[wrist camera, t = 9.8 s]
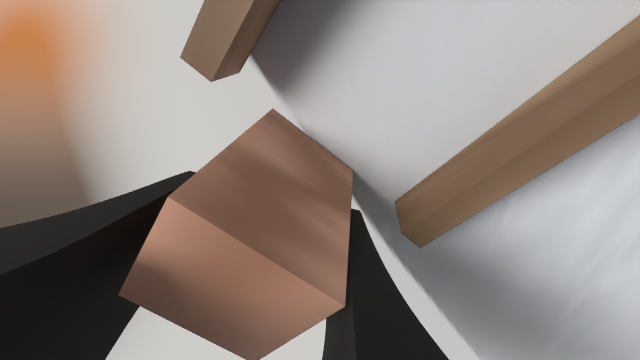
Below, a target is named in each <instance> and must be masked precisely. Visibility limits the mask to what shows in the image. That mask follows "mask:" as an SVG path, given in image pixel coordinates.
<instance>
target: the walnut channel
mask: <svg viewBox="0 0 640 360" xmlns="http://www.w3.org/2000/svg"><path fill="white" fill-rule="evenodd" d="M280 1H281V0H204V3H203V5H202V8H201V10H200V12H199V14H198V17H197V19H196V21H195V24H194V26H193V28H192V31H191V33H190V35H189V38H188V40H187V42H186V45H185V47H184V49H183V52H182V54H181V56H180V58H181V59H183V60H184V61H185V62H186V63H188V64H189V65H190V66H191V67H193V68H194V69H195V70H197V71H198V72H199V73H200V74H202V75H203V76H204V77H206V78H207V79H208V80H209V81H211V82H212V81H215V80H219V79H222V78H225V77H228V76H230V75H234V74H237V73H239V72H240V71H241V69H242V67H243V65H244V64H245V62H246V60H247V58H248V57H249V55H250V53H251V52H252V50H253V48H254V46H255V45H256V43H257V41H258V39H259V38H260V36H261V34H262V33H263V31H264V29H265V27H266V26H267V24H268V22H269V20H270V19H271V17H272V15H273V14H274V12H275V10H276V8H277V7H278V5H279V3H280ZM639 114H640V15H639V16H638V17H637V18H635V19H634V20H633V21H631V22H630V23H629V24H628V25H626V26H625V27H624V28H622V29H621V30H620V31H618V32H617V33H616V34H614V35H613V36H612V37H610V38H609V39H608V40H607V41H605V42H604V43H603V44H601V45H600V46H599V47H597V48H596V49H595V50H593V51H592V52H591V53H589V54H588V55H587V56H586V57H584V58H583V59H582V60H580V61H579V62H578V63H576V64H575V65H574V66H572V67H571V68H570V69H568V70H567V71H566V72H564V73H563V74H562V75H561V76H559V77H558V78H557V79H555V80H554V81H553V82H551V83H550V84H549V85H547V86H546V87H545V88H543V89H542V90H541V91H540V92H538V93H537V94H536V95H534V96H533V97H532V98H530V99H529V100H528V101H526V102H525V103H524V104H522V105H521V106H520V107H519V108H517V109H516V110H515V111H513V112H512V113H511V114H509V115H508V116H507V117H505V118H504V119H503V120H501V121H500V122H499V123H498V124H496V125H495V126H494V127H492V128H491V129H490V130H488V131H487V132H486V133H484V134H483V135H482V136H480V137H479V138H478V139H477V140H475V141H474V142H473V143H471V144H470V145H469V146H467V147H466V148H465V149H463V150H462V151H461V152H459V153H458V154H457V155H456V156H454V157H453V158H452V159H450V160H449V161H448V162H446V163H445V164H444V165H442V166H441V167H440V168H438V169H437V170H436V171H435V172H433V173H432V174H431V175H429V176H428V177H427V178H425V179H424V180H423V181H421V182H420V183H419V184H417V185H416V186H415V187H414V188H412V189H411V190H410V191H408V192H407V193H406V194H404V195H403V196H402V197H400V198H399V199H398V200H396V201H395V204H396V209H397V214H398V218H399V223H400V228H401V232H402V234H403V235H404V236H406V237H407V238H408V239H409V240H411V241H412V242H413V243H415V244H416V245H417V246H418V247H420V248H421V247H423V246H424V245H426V244H428V243H429V242H431V241H432V240H434V239H436V238H437V237H439V236H441V235H442V234H444V233H446V232H447V231H449V230H450V229H452V228H454V227H455V226H457V225H459V224H460V223H462V222H464V221H465V220H467V219H468V218H470V217H472V216H473V215H475V214H477V213H478V212H480V211H482V210H483V209H485V208H486V207H488V206H490V205H491V204H493V203H495V202H496V201H498V200H499V199H501V198H503V197H504V196H506V195H508V194H509V193H511V192H513V191H514V190H516V189H517V188H519V187H521V186H522V185H524V184H526V183H527V182H529V181H531V180H532V179H534V178H535V177H537V176H539V175H540V174H542V173H544V172H545V171H547V170H549V169H550V168H552V167H553V166H555V165H557V164H558V163H560V162H562V161H563V160H565V159H567V158H568V157H570V156H571V155H573V154H575V153H576V152H578V151H580V150H581V149H583V148H585V147H586V146H588V145H589V144H591V143H593V142H594V141H596V140H598V139H599V138H601V137H603V136H604V135H606V134H607V133H609V132H611V131H612V130H614V129H616V128H617V127H619V126H621V125H622V124H624V123H625V122H627V121H629V120H630V119H632V118H634V117H635V116H637V115H639Z"/></svg>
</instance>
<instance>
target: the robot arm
mask: <svg viewBox="0 0 640 360" xmlns="http://www.w3.org/2000/svg"><path fill="white" fill-rule="evenodd" d="M195 173H196V172H192V171H188V172H184V173H181V174H179V175H175V176H173V177H170V178H167V179H165V180H162V181H159V182H156V183H154V184H151V185H149V186H146V187H143V188H140V189H137V190H135V191H132V192H129V193H127V194H124V195H120V196H117V197H115V198H111V199H108V200H105V201H103V202H99V203H96V204H93V205H90V206H87V207H84V208H80V209H77V210H73V211H70V212H66V213H62V214H59V215H55V216H51V217H48V218H43V219H40V220H35V221H31V222H26V223H22V224H17V225H13V226H8V227H4V228H0V360H105V359H106V357H107V356H108V354H109V352H110V351H111V349H112V348H113V346H114V345H115V343H116V341H117V340H118V338H119V337H120V335H121V334H122V332H123V330H124V329H125V327H126V326H127V324H128V323H129V321H130V320H131V318H132V317H133V315H134V314H135V312H136V311H137V309H138V308H139V305H137V304H135V303H133V302H131V301H129V300H127V299H125V298H123V297H121V296H119V295H118V294H119V292H120V290H121V288H122V286H123V284H124V282H125V280H126V278H127V276H128V274H129V272H130V270H131V268H132V266H133V264H134V262H135V260H136V259H137V257H138V255H139V253H140V251H141V249H142V247H143V245H144V243H145V241H146V239H147V237H148V235H149V233H150V231H151V229H152V227H153V225H154V223H155V221H156V219H157V217H158V215H159V213H160V211H161V209H162V207H163V205H164V203H165V201H166V199H167V197H168V196H169V195H170V194H172V193H173V192H174V191H175V190H176V189H178V188H179V187H180V186H181V185H182V184H184V183H185V182H186V181H187V180H188V179H189V178H191V177H192V176H193V175H194V174H195ZM322 360H449V359H448V358H447V357H446V355H445V354H444V353H443V352H442V350H441V349H440V348H439V346H438V345H437V344H436V343H435V341H434V340H433V339H432V337H431V336H430V335H429V333H428V332H427V331H426V329H425V328H424V327H423V326H422V324H421V323H420V322H419V320H418V319H417V317H416V316H415V315H414V313H413V312H412V310H411V309H410V307H409V306H408V304H407V303H406V301H405V300H404V298H403V296H402V295H401V293H400V292H399V290H398V289H397V287H396V285H395V283H394V282H393V280H392V278H391V277H390V275H389V273H388V271H387V270H386V268H385V266H384V264H383V262H382V260H381V258H380V256H379V254H378V252H377V250H376V248H375V246H374V244H373V241H372V239H371V237H370V234H369V232H368V230H367V227H366V225H365V222H364V219H363V217H362V214H361V212H360V211H359V210H355V209H351V215H350V232H349V249H348V266H347V283H346V300H345V307H343V308H342V309H340V310H338V311H337V312H335V313H334V314H332V315H330V316H329V317H327V318H326V333H325V343H324V351H323V357H322Z"/></svg>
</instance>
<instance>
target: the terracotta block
mask: <svg viewBox="0 0 640 360" xmlns="http://www.w3.org/2000/svg"><path fill="white" fill-rule="evenodd" d="M352 181H353V170H352V169H350V168H349V167H348V166H347V165H345V164H344V163H343V162H341V161H340V160H339V159H338V158H336V157H335V156H334V155H332V154H331V153H330V152H328V151H327V150H326V149H325V148H323V147H322V146H321V145H319V144H318V143H317V142H316V141H314V140H313V139H312V138H310V137H309V136H308V135H306V134H305V133H304V132H303V131H301V130H300V129H299V128H297V127H296V126H295V125H294V124H292V123H291V122H290V121H288V120H287V119H286V118H285V117H283V116H282V115H281V114H279V113H278V112H277V111H275V110H274V109H272V110H271V111H269V112H268V113H267V114H266V115H265V116H263V117H262V118H261V119H260V120H259V121H257V122H256V123H255V124H254V125H253V126H252V127H251V128H249V129H248V130H247V131H245V132H244V133H243V134H242V135H241V136H239V137H238V138H237V139H236V140H235V141H234V142H233V143H231V144H230V145H229V146H228V147H226V148H225V149H224V150H223V151H222V152H220V153H219V154H218V155H217V156H216V157H215V158H213V159H212V160H211V161H210V162H209V163H207V164H206V165H205V166H204V167H203V168H202V169H200V170H199V171H198V172H197V173H195V174H194V175H193V176H192V177H191V178H189V179H188V180H187V181H186V182H185V183H184V184H182V185H181V186H180V187H179V188H178V189H176V190H175V191H174V192H173V193H172V194H170V195H169V196H168V197H167V199H166V201H165V203H164V205H163V207H162V209H161V211H160V213H159V215H158V217H157V219H156V221H155V223H154V225H153V227H152V229H151V231H150V233H149V235H148V237H147V239H146V241H145V243H144V245H143V247H142V249H141V251H140V253H139V255H138V257H137V259H136V260H135V262H134V264H133V266H132V268H131V270H130V272H129V274H128V276H127V278H126V280H125V282H124V284H123V286H122V288H121V290H120V292H119V294H118V295H119V296H121V297H123V298H125V299H127V300H129V301H131V302H133V303H135V304H137V305H139V306H141V307H143V308H145V309H147V310H149V311H151V312H153V313H155V314H157V315H159V316H161V317H163V318H165V319H167V320H169V321H171V322H173V323H175V324H177V325H179V326H181V327H183V328H185V329H187V330H189V331H191V332H192V333H194V334H196V335H198V336H200V337H202V338H204V339H206V340H208V341H210V342H212V343H214V344H216V345H218V346H220V347H222V348H224V349H226V350H228V351H230V352H232V353H234V354H236V355H238V356H240V357H242V358H244V359H246V360H260V359H261V358H263V357H264V356H266V355H268V354H269V353H271V352H272V351H274V350H276V349H277V348H279V347H280V346H282V345H284V344H285V343H287V342H288V341H290V340H292V339H293V338H295V337H297V336H298V335H300V334H301V333H303V332H305V331H306V330H308V329H309V328H311V327H313V326H314V325H316V324H317V323H319V322H321V321H322V320H324V319H325V318H327V317H329V316H330V315H332V314H334V313H335V312H337V311H338V310H340V309H342V308H343V307H345V300H346V283H347V266H348V249H349V232H350V215H351V198H352Z"/></svg>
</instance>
